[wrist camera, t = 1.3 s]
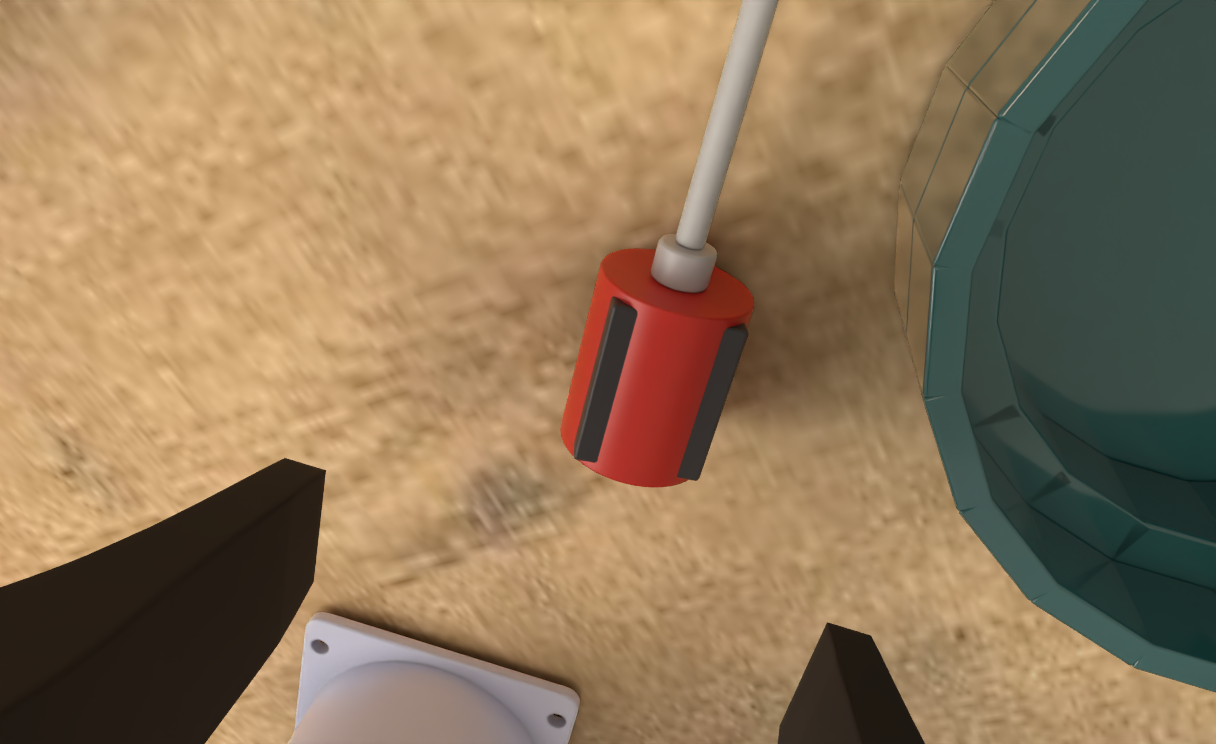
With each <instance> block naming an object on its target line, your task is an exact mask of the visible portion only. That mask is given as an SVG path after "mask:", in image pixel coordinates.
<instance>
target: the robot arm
mask: <svg viewBox="0 0 1216 744" xmlns="http://www.w3.org/2000/svg"><path fill="white" fill-rule="evenodd" d="M325 474H326V470H323V469H319V468H316V467H313V466H310V465H306V464H303V463H300V462H296V461H293V460H290V459H286V458H284V459H282V460H280V461H278V462H276V463H274V464H272V465H270V466H268V467H266V468H264V469H262V470H260V471H258V472H256V473H255V474H253V475H251V476H249V477H247V478H245V479H243V480H241V481H239V482H237V483H236V484H234V485H232V486H230V487H228V488H226V489H224V490H222V491H220V492H218V493H217V494H215V495H213V496H211V497H209V498H207V499H205V500H203V501H201V502H199V503H197V504H195V505H193V506H191V507H189V508H187V509H185V510H183V511H181V512H179V513H177V514H175V515H173V516H171V517H169V518H167V519H165V520H163V521H161V522H159V523H157V524H155V525H153V526H151V527H149V528H147V529H145V530H142V531H140V532H138V533H136V534H133V535H131V536H129V537H127V538H124V539H122V540H120V541H118V542H116V543H113V544H111V545H109V546H107V547H104V548H102V549H100V550H98V551H96V552H93V553H91V554H89V555H86V556H84V557H81V558H79V559H77V560H74V561H72V562H69V563H66V564H64V565H61V566H59V567H56V568H54V569H51V570H48V571H46V572H43V573H40V574H37V575H34V576H32V577H29V578H26V579H23V580H20V581H17V582H15V583H12V584H9V585H6V586H3V587H0V744H205V742H206V741H207V740H208V738H209V737H210V736H211V734H212V733H213V732H214V730H215V729H216V728H217V726H218V725H219V724H220V722H221V721H222V720H223V718H224V717H225V716H226V714H227V713H228V712H229V710H230V709H231V708H232V706H233V705H234V704H235V702H236V701H237V700H238V698H239V697H240V696H241V694H242V693H243V692H244V690H245V689H246V688H247V686H248V685H249V683H250V682H251V681H252V679H253V678H254V677H255V675H256V674H257V673H258V671H259V670H260V669H261V667H262V666H263V664H264V663H265V662H266V660H267V659H268V658H269V656H270V655H271V653H272V652H273V651H274V649H275V648H276V647H277V645H278V644H279V642H280V641H281V639H282V637H283V635H284V634H285V632H286V630H287V628H288V627H289V625H290V623H291V622H292V620H293V618H294V616H295V615H296V613H297V611H298V609H299V607H300V605H301V604H302V602H303V600H304V598H305V596H306V595H307V593H308V591H309V589H310V587H311V585H312V584H313V582H314V573H315V564H316V555H317V546H318V537H319V528H320V519H321V510H322V501H323V492H324V483H325ZM320 640H322V641H323V642H325V643H326V644H324V643H322V642H321V641H320ZM579 706H580V698H579V696H578V694H577V693H576V692H575V691H574V690H572V689H570V688H568V687H566V686H563V685H559V684H556V683H553V682H550V681H547V680H543V679H540V678H537V677H534V676H530V675H527V674H524V673H521V672H518V671H514V670H511V669H508V668H505V667H501V666H498V665H495V664H492V663H489V662H485V661H482V660H479V659H476V658H472V657H469V656H466V655H463V654H460V653H456V652H453V651H450V650H447V649H444V648H440V647H437V646H434V645H431V644H427V643H424V642H421V641H418V640H415V639H411V638H408V637H405V636H402V635H398V634H395V633H392V632H389V631H386V630H382V629H379V628H376V627H373V626H370V625H366V624H363V623H360V622H357V621H353V620H350V619H347V618H344V617H341V616H337V615H334V614H331V613H327V612H318V613H315V614H314V615H313V616H312V617H311V618H310V620H309V621H308V623H307V625H306V628H305V637H304V646H303V655H302V664H301V673H300V682H299V692H298V701H297V710H296V719H295V728H294V733H293V735H292V737H291V738H290V740H289V742H288V743H287V744H568V742H569V739H570V736H571V732H572V729H573V726H574V723H575V720H576V716H577V713H578V709H579ZM553 714H559V715H561V716H562V717H557V716H555V715H553ZM778 744H925V743H924V741H923V739H922V737H921V735H920V733H919V731H918V729H917V727H916V725H915V723H914V721H913V720H912V718H911V716H910V714H909V711H908V709H907V707H906V705H905V703H904V701H903V699H902V697H901V695H900V693H899V691H898V689H897V687H896V685H895V683H894V681H893V679H892V677H891V675H890V673H889V671H888V669H887V667H886V665H885V663H884V661H883V658H882V656H881V654H880V652H879V650H878V648H877V646H876V644H875V643H874V641H873V639H872V637H871V635H867V634H864V633H861V632H857V631H854V630H851V629H847V628H844V627H841V626H838V625H834V624H831V623H828V622H827V624H826V626H825V628H824V630H823V633H822V635H821V637H820V639H819V641H818V643H817V646H816V648H815V650H814V652H813V654H812V657H811V659H810V661H809V663H808V665H807V667H806V670H805V672H804V674H803V676H802V678H801V681H800V683H799V685H798V687H797V689H796V691H795V694H794V696H793V698H792V700H791V702H790V704H789V707H788V709H787V711H786V713H785V715H784V718H783V720H782V722H781V724H780V728H779V737H778Z"/></svg>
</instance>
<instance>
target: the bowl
mask: <svg viewBox="0 0 1216 744" xmlns="http://www.w3.org/2000/svg"><path fill="white" fill-rule="evenodd" d="M894 289H895V297H896V301H897V305H898V308H899V312H900V316H901V320H902V323H903V327H904V331H905V335H906V338H907V342H908V346H909V350H910V353H911V357H912V361H913V365H914V368H915V372H916V376H917V380H918V383H919V387H920V391H921V395H922V398H923V402H924V405H925V409H926V412H927V415H928V418H929V421H930V425H931V428H932V431H933V434H934V438H935V441H936V444H937V447H938V450H939V454H940V457H941V460H942V463H943V467H944V470H945V473H946V476H947V480H948V483H949V486H950V489H951V492H952V496H953V499H954V502H955V505H956V508H957V509H958V511H959V514H960V515H961V516H962V518H963V519H964V520H965V521H966V523H967V524H968V525H969V526H970V528H971V529H972V530H973V531H974V533H975V534H976V535H977V536H978V538H979V539H980V540H981V541H982V543H983V544H984V545H985V546H986V548H987V549H988V550H989V551H990V553H991V554H992V555H993V556H994V558H995V559H996V560H997V561H998V563H999V564H1000V565H1001V567H1002V568H1003V569H1004V570H1005V572H1006V573H1007V574H1008V575H1009V577H1010V578H1011V579H1012V580H1013V582H1014V583H1015V584H1016V585H1017V587H1018V588H1019V589H1020V590H1021V592H1022V593H1023V594H1024V595H1025V597H1026V598H1027V599H1028V600H1030V601H1031V602H1032V603H1033V604H1034V605H1036V606H1038V607H1039V608H1041V609H1042V610H1044V611H1045V612H1047V613H1048V614H1050V615H1052V616H1053V617H1055V618H1056V619H1058V620H1059V621H1061V622H1063V623H1064V624H1066V625H1067V626H1069V627H1070V628H1072V629H1074V630H1075V631H1077V632H1078V633H1080V634H1081V635H1083V636H1085V637H1086V638H1088V639H1089V640H1091V641H1092V642H1094V643H1096V644H1097V645H1099V646H1100V647H1102V648H1103V649H1105V650H1107V651H1108V652H1110V653H1111V654H1113V655H1114V656H1116V657H1118V658H1119V659H1121V660H1122V661H1124V662H1125V663H1127V664H1128V665H1132V666H1133V667H1134V668H1136V669H1139V670H1142V671H1146V672H1149V673H1152V674H1156V675H1159V676H1162V677H1166V678H1169V679H1172V680H1176V681H1179V682H1182V683H1186V684H1189V685H1192V686H1196V687H1199V688H1202V689H1206V690H1209V691H1212V692H1216V0H995V1H994V3H993V4H992V5H991V7H990V8H989V9H988V10H987V12H986V13H985V14H984V16H983V17H982V18H981V19H980V21H979V22H978V23H977V25H976V26H975V27H974V29H973V30H972V31H971V32H970V34H969V35H968V36H967V38H966V39H965V40H964V41H963V43H962V44H961V45H960V47H959V48H958V49H957V51H956V52H955V53H954V54H953V56H952V57H951V58H950V60H949V61H948V62H947V66H946V67H945V68H944V69H943V72H942V75H941V77H940V80H939V82H938V85H937V87H936V90H935V92H934V95H933V97H932V100H931V103H930V105H929V108H928V110H927V113H926V115H925V118H924V120H923V123H922V126H921V128H920V131H919V133H918V136H917V138H916V141H915V143H914V146H913V149H912V151H911V154H910V156H909V159H908V161H907V164H906V166H905V169H904V171H903V174H902V177H901V184H900V186H899V201H898V220H897V239H896V257H895V276H894Z"/></svg>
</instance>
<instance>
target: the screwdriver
mask: <svg viewBox="0 0 1216 744" xmlns="http://www.w3.org/2000/svg"><path fill="white" fill-rule="evenodd" d="M777 4H778V0H743V1H742V5H741V8H740V12H739V15H738V19H737V22H736V26H735V29H734V33H733V36H732V40H731V43H730V47H729V50H728V54H727V57H726V61H725V64H724V68H723V72H722V75H721V79H720V82H719V86H718V89H717V93H716V96H715V100H714V103H713V107H712V110H711V114H710V117H709V121H708V124H707V128H706V131H705V135H704V138H703V142H702V145H701V149H700V153H699V156H698V160H697V163H696V167H695V170H694V174H693V177H692V181H691V184H690V188H689V191H688V195H687V198H686V202H685V205H684V209H683V212H682V216H681V219H680V223H679V227H678V230H677V234H666V235H663V236H662V237H661V238H660V239H659V241H658V245H657V249H656V250H655V249H638V248H636V249H624V250H619V251H615V252H612V253H610V254H608V255H607V256H606V257H605V258H604V259H603V260H602V262H601V265H600V269H599V273H598V277H597V281H596V285H595V290H594V294H593V298H592V302H591V306H590V310H589V314H588V318H587V322H586V326H585V330H584V334H583V338H582V342H581V346H580V350H579V354H578V358H577V362H576V366H575V370H574V374H573V378H572V382H571V386H570V390H569V395H568V399H567V403H566V407H565V411H564V415H563V419H562V423H561V429H560V430H561V437H562V440H563V442H564V444H565V446H566V448H567V449H568V450H569V452H570V453H571V454H572V455H573V456H574V458H575V459H577V460H578V461H580V462H581V463H582V464H583V465H585V466H586V467H588V468H589V469H591V470H593V471H595V472H596V473H598V474H601V475H603V476H605V477H607V478H610V479H613V480H615V481H619V482H622V483H625V484H630V485H635V486H642V487H667V486H673V485H677V484H680V483H683V482H685V481H687V480H695V481H697V480H698V479H699V478H700V475H701V472H702V469H703V466H704V463H705V460H706V457H707V454H708V451H709V448H710V445H711V442H712V439H713V436H714V434H715V431H716V428H717V425H718V422H719V419H720V416H721V413H722V410H723V407H724V404H725V401H726V398H727V395H728V392H729V389H730V387H731V384H732V381H733V378H734V375H735V372H736V369H737V366H738V363H739V360H740V357H741V354H742V351H743V348H744V345H745V342H746V340H747V337H748V330H747V327H748V324H749V321H750V318H751V315H752V312H753V309H754V298H753V296H752V294H751V292H750V291H749V290H748V288H747V287H746V286H745V285H744V284H742V283H741V282H740V281H739V280H737V279H736V278H734V277H733V276H731V275H730V274H728V273H726V272H725V271H723V270H721V269H719V268H717V267H715V262H716V259H717V251H716V250H715V248H714V247H712V246H711V245H710V244H708V243H706V240H707V236H708V233H709V230H710V226H711V223H712V220H713V216H714V213H715V210H716V206H717V203H718V200H719V196H720V193H721V190H722V187H723V183H724V180H725V177H726V173H727V170H728V167H729V163H730V160H731V157H732V153H733V150H734V147H735V143H736V140H737V137H738V133H739V130H740V127H741V123H742V120H743V117H744V113H745V110H746V107H747V103H748V100H749V97H750V93H751V90H752V87H753V83H754V80H755V77H756V74H757V70H758V67H759V64H760V60H761V57H762V54H763V50H764V47H765V44H766V40H767V37H768V34H769V30H770V27H771V24H772V20H773V17H774V14H775V10H776V7H777Z"/></svg>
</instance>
